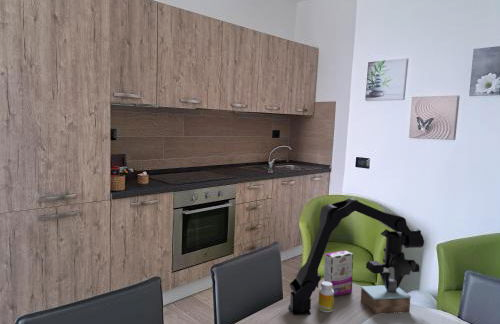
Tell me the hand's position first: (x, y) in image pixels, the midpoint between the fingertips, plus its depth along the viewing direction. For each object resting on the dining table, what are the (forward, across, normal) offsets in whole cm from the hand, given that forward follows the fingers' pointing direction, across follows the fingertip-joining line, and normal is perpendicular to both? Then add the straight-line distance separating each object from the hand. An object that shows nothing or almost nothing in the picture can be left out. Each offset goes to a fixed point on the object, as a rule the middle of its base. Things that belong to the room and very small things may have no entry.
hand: (391, 288), depth 132 cm
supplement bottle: (+7, -26, 0) cm, 26 cm away
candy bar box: (+7, -16, +13) cm, 22 cm away
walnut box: (+7, -2, 0) cm, 7 cm away
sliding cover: (+1, -3, 0) cm, 3 cm away
